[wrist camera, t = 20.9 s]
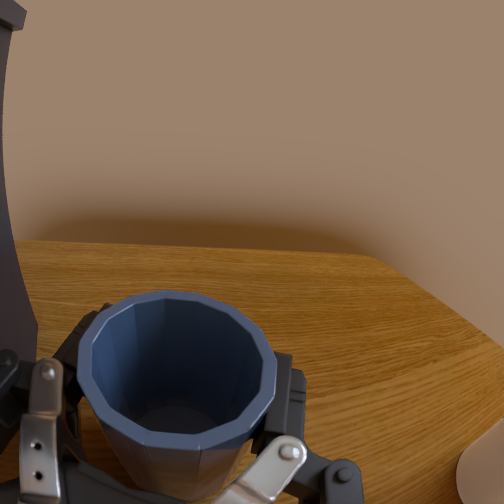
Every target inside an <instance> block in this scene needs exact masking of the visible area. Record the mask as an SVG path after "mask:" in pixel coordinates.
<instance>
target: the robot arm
mask: <svg viewBox="0 0 504 504" xmlns="http://www.w3.org/2000/svg"><path fill="white" fill-rule="evenodd" d="M111 306H113V305H112V304H109V303H106V304H104V305H103V307H102V308H101V309H100V310H99V312H97V311H92V312H90V313H89V314H87V315H85V316H84V317H83V318H82V320H81V321H80V322H79V323H78V326H76V327H75V328H74V330H73V332H72V333H70V335H69V336H68V337H67V339H66V340H65V341H64V343H63V344H62V345H61V346H60V348H59V349H58V350H57V352H56V353H55V354H54V356H53V357H52V358H43V359H41V360H39V361H38V362H37V363H34V362H29V361H24V360H20V359H19V357H18V355H17V354H16V352H14V351H13V350H11V349H4V350H1V351H0V400H1V398H2V397H3V396H4V395H5V394H6V392H7V391H8V393H7V394H6V395H5V396H4V398H3V399H2V400H1V401H0V454H1V453H2V452H3V450H4V449H5V447H6V446H7V445H8V443H9V442H10V440H11V439H12V438H13V436H14V435H15V434H16V432H17V431H18V429H19V428H20V443H19V468H20V477H18V478H15V479H12V480H9V481H6V482H3V483H0V504H186V501H184V500H180V499H177V498H173V497H170V496H167V495H164V494H161V493H157V492H149V491H141V490H135V489H129V488H127V487H125V486H124V485H122V484H121V483H120V482H118V481H117V480H115V479H114V478H113V477H111V476H110V475H109V474H107V473H106V472H105V471H103V470H101V469H99V468H97V467H95V466H93V465H91V464H89V463H87V460H86V455H85V451H84V448H83V445H82V438H81V417H80V403H79V402H80V400H81V398H82V397H84V395H83V393H82V391H81V388H80V386H79V384H78V382H77V378H76V376H77V357H78V344H79V341H80V339H81V338H82V336H83V335H84V333H85V332H86V331H87V329H88V328H89V326H90V325H91V323H92V322H93V320H94V319H95V318H96V316H97V315H98V314H99V313H100V312H102V311H104V310H106V309H107V308H109V307H111ZM274 355H275V357H276V359H277V378H276V392H275V397H274V400H273V402H272V404H271V406H270V408H269V410H268V412H267V413H266V415H265V417H264V419H263V421H262V423H261V425H260V427H259V428H258V430H257V432H256V434H255V436H254V438H253V443H252V448H251V453H253V454H257V457H256V459H255V460H254V461H253V462H252V464H251V465H250V466H249V467H248V468H247V469H246V470H245V471H244V472H243V473H242V474H241V475H240V476H239V477H238V478H237V479H236V480H235V481H233V482H232V483H231V484H230V485H229V486H228V487H227V488H226V489H225V490H224V491H223V492H222V493H220V494H219V495H218V496H217V497H216V498H215V499H214V500H213V501H212V502H211V503H210V504H272V503H273V501H274V500H275V499H276V498H277V497H278V495H279V494H280V493H281V492H282V491H283V492H285V493H288V494H290V495H292V496H295V497H297V498H299V504H364V495H363V486H362V478H361V471H360V469H359V467H358V466H357V465H356V464H355V463H354V462H352V461H350V460H347V459H338V460H335V461H330V460H328V459H325V458H323V457H320V456H318V455H316V454H314V453H313V452H311V451H310V450H309V448H308V447H307V446H306V444H305V441H304V420H305V401H306V395H305V394H306V379H305V377H304V374H303V372H302V370H298V369H293V368H292V355H289V354H284V353H280V352H275V351H274Z"/></svg>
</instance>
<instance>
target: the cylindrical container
mask: <svg viewBox="0 0 504 504" xmlns="http://www.w3.org/2000/svg"><path fill="white" fill-rule="evenodd" d="M456 484H457V490H458V493H459V496H460V498H461V500H462V502H463V504H504V417H503V418H502V419H501V420H500V421H499V422H497V423H496V424H495V425H494V426H493V427H492V428H491V429H489V430H488V431H487V432H486V433H485V434H483V435H482V436H481V437H480V438H478V439H477V440H476V441H475V442H473V443H472V444H471V445H469V446H468V447H467V448H466V449H465V450H464V452H463V453H462V455H461V457H460V459H459V462H458V465H457V470H456Z"/></svg>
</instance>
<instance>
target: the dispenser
mask: <svg viewBox="0 0 504 504" xmlns="http://www.w3.org/2000/svg"><path fill="white" fill-rule="evenodd" d="M26 13H27V11H26V10H25V9H24V8H23V7H21V6H20V5H19V4H17V3H16V2H15V1H14V0H0V351H1V350H4V349H11V350H13V351H14V352H16V354H17V355H18V357H19V359H20V360H24V361H29V362H34V363H36V345H37V331H38V324H37V322H36V319H35V316H34V313H33V310H32V307H31V304H30V301H29V298H28V295H27V291H26V288H25V285H24V281H23V278H22V274H21V270H20V266H19V262H18V258H17V254H16V249H15V245H14V240H13V235H12V230H11V224H10V218H9V212H8V205H7V197H6V189H5V179H4V167H3V148H2V147H3V146H2V115H3V94H4V83H5V73H6V65H7V58H8V52H9V45H10V40H11V35H12V32H13V31H18V30H22V29H23V26H24V21H25V17H26ZM7 393H8V391H7V392H6V394H7ZM6 394H5V395H6ZM5 395H4V396H5ZM4 396H3V397H2V398H1V400H2V399H3V398H4ZM1 400H0V401H1Z"/></svg>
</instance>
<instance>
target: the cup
mask: <svg viewBox="0 0 504 504" xmlns="http://www.w3.org/2000/svg"><path fill="white" fill-rule="evenodd" d="M76 378H77V382H78V384H79V386H80V388H81V391H82V393H83V395H84V397H85V399H86V401H87V403H88V405H89V407H90V409H91V411H92V413H93V415H94V417H95V419H96V421H97V423H98V425H99V427H100V429H101V431H102V432H103V434H104V436H105V438H106V440H107V441H108V443H109V445H110V446H111V448H112V450H113V451H114V453H115V455H116V456H117V458H118V460H119V461H120V463H121V464H122V466H123V467H124V469H125V470H126V471H127V473H128V474H129V475H130V477H131V478H132V479H133V481H134V482H135V483H136V484H137V485H138V486H140V487H141V488H142V489H144V490H145V491H149V492H157V493H161V494H164V495H167V496H170V497H173V498H177V499H180V500H184V501H186V502H190V501H196V500H200V499H203V498H206V497H208V496H210V495H212V494H214V493H215V492H217V491H218V490H220V489H221V488H222V487H223V486H224V485H225V484H226V483H227V481H228V480H229V478H230V477H231V476H232V475H233V473H234V472H235V470H236V469H237V467H238V465H239V463H240V462H241V460H242V458H243V456H244V455H245V453H246V451H247V449H248V447H249V446H250V444H251V442H252V440H253V438H254V436H255V434H256V432H257V430H258V428H259V427H260V425H261V423H262V421H263V419H264V417H265V415H266V413H267V412H268V410H269V408H270V406H271V404H272V402H273V400H274V397H275V392H276V378H277V359H276V357H275V355H274V353H273V351H272V349H271V347H270V345H269V343H268V341H267V339H266V337H265V335H264V333H263V331H262V330H261V329H260V328H259V327H258V326H257V325H255V324H254V323H253V322H252V321H251V320H249V319H248V318H247V317H246V316H245V315H243V314H242V313H241V312H240V311H239V310H237V309H236V308H234V307H233V306H230V305H228V304H225V303H223V302H220V301H218V300H215V299H213V298H210V297H208V296H205V295H203V294H199V293H190V292H180V291H170V290H160V291H155V292H149V293H144V294H139V295H133V296H129V297H126V298H125V299H123V300H121V301H119V302H118V303H116V304H114V305H113V306H111V307H109V308H107V309H106V310H104V311H102V312H100V313H99V314H98V315H97V316H96V318H95V319H94V320H93V322H92V323H91V325H90V326H89V328H88V329H87V331H86V332H85V333H84V335H83V336H82V338H81V339H80V341H79V344H78V357H77V376H76Z"/></svg>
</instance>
